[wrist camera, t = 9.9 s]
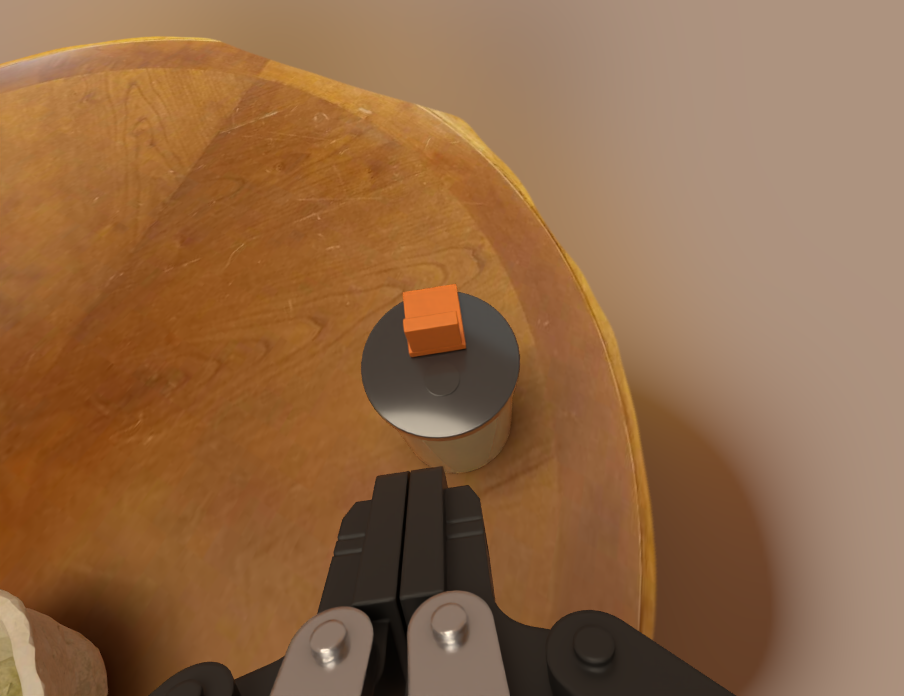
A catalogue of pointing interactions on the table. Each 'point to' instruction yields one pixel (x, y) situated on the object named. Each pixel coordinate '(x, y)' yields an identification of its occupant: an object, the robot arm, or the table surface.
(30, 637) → the bowl
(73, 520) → the table surface
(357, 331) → the table surface
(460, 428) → the lidded canister
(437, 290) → the slider
